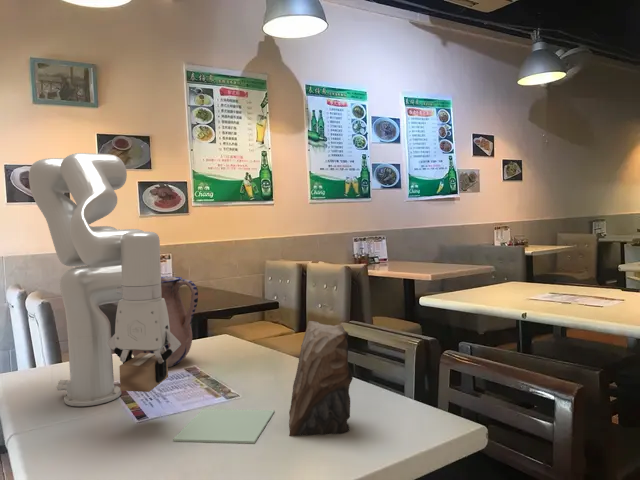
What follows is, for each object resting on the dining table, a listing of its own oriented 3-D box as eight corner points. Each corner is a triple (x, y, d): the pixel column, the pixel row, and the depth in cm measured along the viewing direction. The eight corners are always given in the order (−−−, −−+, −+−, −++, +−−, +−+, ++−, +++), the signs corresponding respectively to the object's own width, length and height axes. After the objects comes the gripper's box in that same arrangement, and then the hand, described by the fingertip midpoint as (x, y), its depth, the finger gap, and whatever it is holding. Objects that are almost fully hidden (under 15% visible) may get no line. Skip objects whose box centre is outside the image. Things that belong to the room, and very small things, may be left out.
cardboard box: (120, 390, 110) (119, 364, 109) (141, 375, 119) (140, 352, 118) (149, 391, 109) (148, 366, 108) (168, 377, 118) (167, 353, 117)
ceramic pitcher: (147, 356, 170) (142, 275, 169) (213, 356, 168) (209, 273, 166) (118, 373, 153) (113, 283, 152) (192, 373, 150) (187, 281, 149)
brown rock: (302, 412, 118) (299, 319, 117) (361, 414, 115) (358, 319, 114) (286, 436, 106) (281, 332, 105) (351, 439, 103) (347, 333, 102)
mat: (172, 441, 105) (172, 439, 105) (203, 410, 121) (202, 409, 121) (254, 443, 103) (254, 441, 103) (274, 412, 119) (274, 410, 119)
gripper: (92, 295, 110) (96, 384, 111) (175, 296, 107) (177, 387, 109) (111, 289, 117) (115, 372, 119) (189, 290, 115) (192, 375, 116)
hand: (145, 379), depth 114 cm, fingers closed on cardboard box, 6 cm apart
